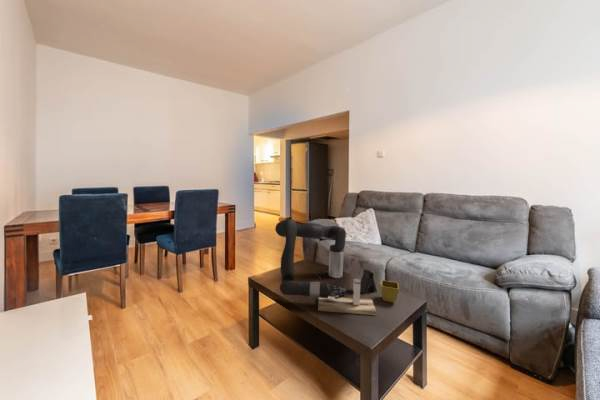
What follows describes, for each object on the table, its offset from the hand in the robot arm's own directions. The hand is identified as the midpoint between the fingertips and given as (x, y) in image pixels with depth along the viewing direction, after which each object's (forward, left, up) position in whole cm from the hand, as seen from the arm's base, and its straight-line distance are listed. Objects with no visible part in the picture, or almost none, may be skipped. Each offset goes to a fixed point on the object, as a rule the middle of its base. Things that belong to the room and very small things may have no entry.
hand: (353, 292), depth 130 cm
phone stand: (-21, +11, -8) cm, 25 cm away
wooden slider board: (0, -3, -8) cm, 9 cm away
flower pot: (-11, +21, -8) cm, 25 cm away
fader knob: (0, +2, -6) cm, 6 cm away
